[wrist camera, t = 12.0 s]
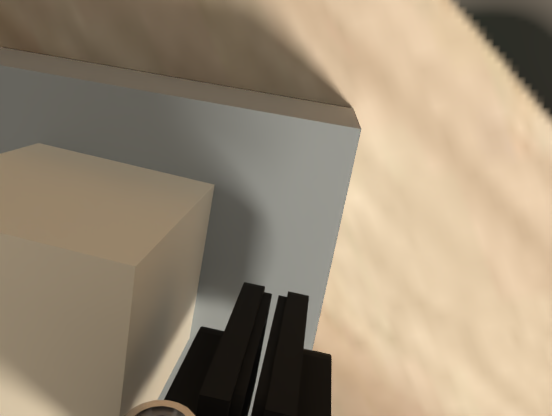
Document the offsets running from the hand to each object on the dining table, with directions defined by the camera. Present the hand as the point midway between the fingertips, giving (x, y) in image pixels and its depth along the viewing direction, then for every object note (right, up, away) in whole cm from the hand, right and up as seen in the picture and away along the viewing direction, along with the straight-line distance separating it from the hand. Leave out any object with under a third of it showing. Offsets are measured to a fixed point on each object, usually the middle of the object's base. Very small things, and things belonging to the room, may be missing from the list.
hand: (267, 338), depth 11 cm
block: (-4, +2, +2) cm, 5 cm away
